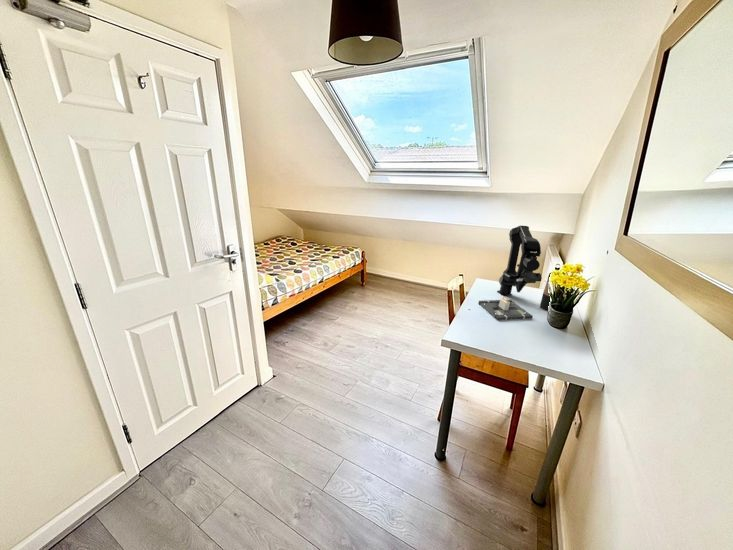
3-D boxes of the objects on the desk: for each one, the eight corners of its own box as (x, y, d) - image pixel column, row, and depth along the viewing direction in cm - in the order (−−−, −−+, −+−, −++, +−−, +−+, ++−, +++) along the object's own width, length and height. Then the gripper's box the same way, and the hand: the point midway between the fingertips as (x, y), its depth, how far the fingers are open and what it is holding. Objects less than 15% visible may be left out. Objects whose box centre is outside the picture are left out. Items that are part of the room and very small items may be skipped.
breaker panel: (480, 305, 164) (481, 302, 164) (512, 304, 168) (513, 301, 167) (494, 318, 151) (495, 315, 151) (529, 316, 155) (530, 313, 154)
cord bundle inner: (478, 303, 167) (478, 300, 166) (510, 302, 170) (510, 299, 169) (480, 305, 165) (480, 301, 164) (512, 304, 168) (513, 300, 167)
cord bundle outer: (495, 318, 151) (495, 315, 151) (529, 316, 155) (530, 313, 154) (497, 320, 149) (498, 317, 149) (532, 318, 153) (533, 315, 152)
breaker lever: (498, 306, 161) (500, 297, 159) (502, 305, 161) (504, 297, 159) (504, 310, 156) (506, 301, 154) (508, 310, 157) (510, 301, 155)
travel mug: (550, 305, 168) (561, 273, 161) (557, 312, 161) (568, 278, 154) (536, 304, 169) (546, 271, 162) (542, 310, 162) (553, 277, 155)
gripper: (519, 270, 142) (511, 299, 148) (553, 269, 145) (544, 298, 151) (505, 262, 152) (498, 290, 158) (537, 262, 155) (530, 289, 161)
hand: (518, 292), depth 157 cm, fingers closed
